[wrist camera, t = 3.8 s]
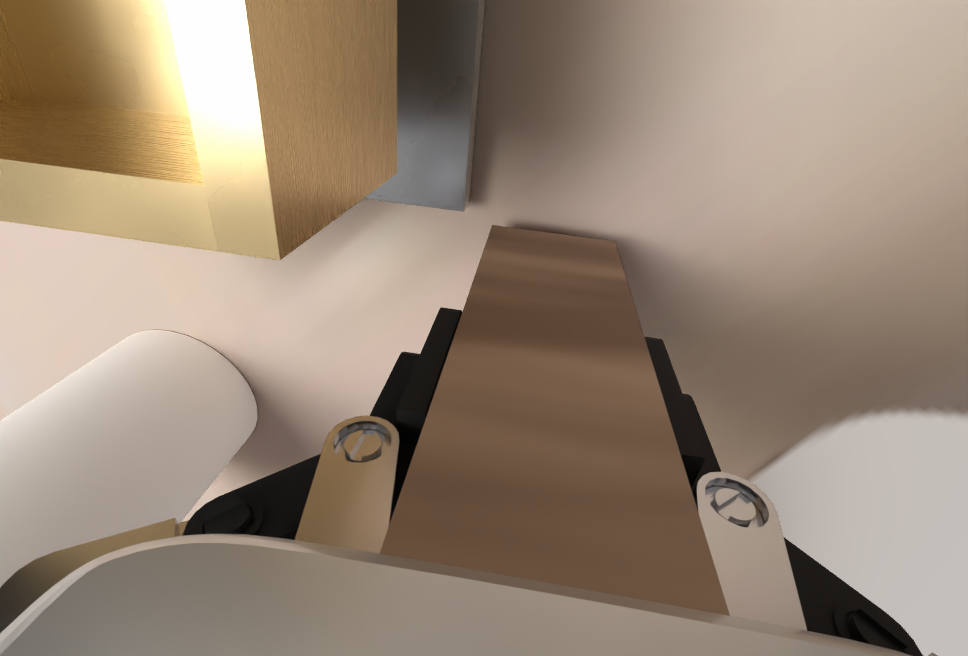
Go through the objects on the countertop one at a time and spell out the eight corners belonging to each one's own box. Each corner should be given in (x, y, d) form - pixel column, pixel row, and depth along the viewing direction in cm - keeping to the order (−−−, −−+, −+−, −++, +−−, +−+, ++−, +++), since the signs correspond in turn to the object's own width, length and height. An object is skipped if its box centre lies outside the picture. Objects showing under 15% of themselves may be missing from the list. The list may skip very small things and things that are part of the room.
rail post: (492, 225, 15) (281, 839, 3) (615, 241, 15) (836, 961, 3) (481, 328, 17) (326, 932, 6) (589, 344, 17) (666, 1009, 5)
